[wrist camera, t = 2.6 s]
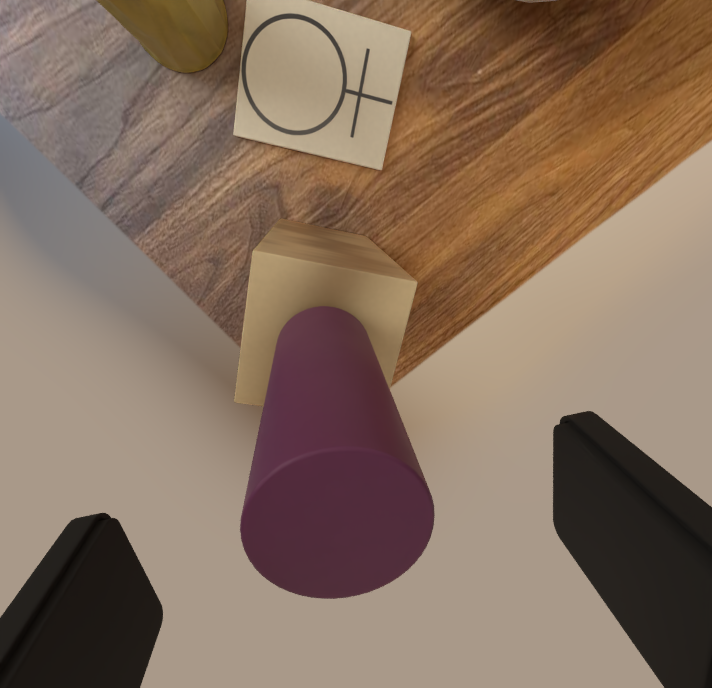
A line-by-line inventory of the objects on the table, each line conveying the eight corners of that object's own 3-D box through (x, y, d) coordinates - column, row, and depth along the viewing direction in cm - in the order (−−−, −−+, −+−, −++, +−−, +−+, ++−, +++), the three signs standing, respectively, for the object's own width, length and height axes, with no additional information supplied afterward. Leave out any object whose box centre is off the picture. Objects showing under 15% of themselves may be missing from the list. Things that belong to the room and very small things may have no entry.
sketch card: (234, 136, 30) (232, 135, 29) (249, -14, 27) (248, -19, 26) (380, 170, 32) (382, 170, 31) (409, 34, 29) (411, 30, 28)
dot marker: (271, 378, 19) (229, 595, 9) (284, 292, 17) (252, 435, 7) (357, 390, 19) (408, 604, 9) (376, 309, 18) (459, 459, 8)
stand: (267, 303, 35) (233, 403, 19) (279, 218, 32) (252, 250, 17) (349, 317, 36) (381, 422, 20) (366, 236, 33) (418, 281, 18)
